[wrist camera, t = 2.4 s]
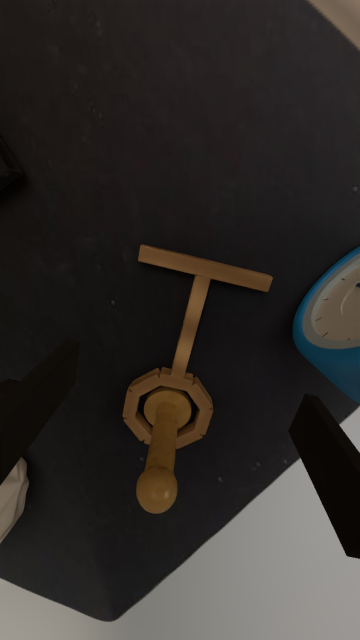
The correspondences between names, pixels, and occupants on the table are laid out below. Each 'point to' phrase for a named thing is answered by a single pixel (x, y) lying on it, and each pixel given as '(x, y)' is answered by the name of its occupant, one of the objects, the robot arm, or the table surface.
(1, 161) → the binder
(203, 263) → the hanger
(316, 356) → the alarm clock
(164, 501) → the peg stand
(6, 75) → the table surface
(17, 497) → the vase
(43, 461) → the table surface
